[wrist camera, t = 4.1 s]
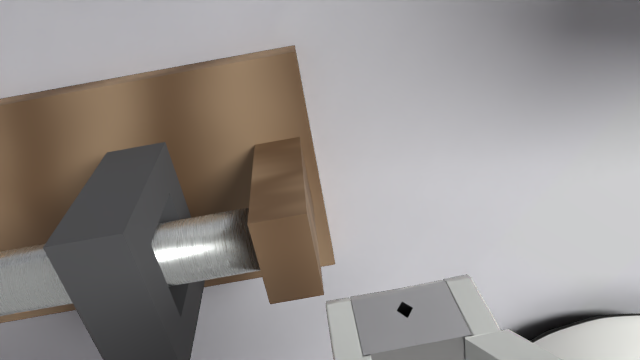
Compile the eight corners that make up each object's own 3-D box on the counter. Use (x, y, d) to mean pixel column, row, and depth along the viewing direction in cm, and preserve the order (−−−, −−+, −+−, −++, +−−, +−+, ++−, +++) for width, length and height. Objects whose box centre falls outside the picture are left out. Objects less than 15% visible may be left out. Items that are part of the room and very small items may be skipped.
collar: (165, 141, 20) (123, 233, 15) (207, 265, 23) (186, 378, 18) (106, 152, 20) (42, 247, 15) (157, 273, 24) (119, 390, 18)
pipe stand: (294, 45, 21) (301, 106, 15) (333, 252, 27) (350, 361, 20) (-261, 146, 21) (-483, 248, 15) (-112, 330, 27) (-230, 461, 21)
